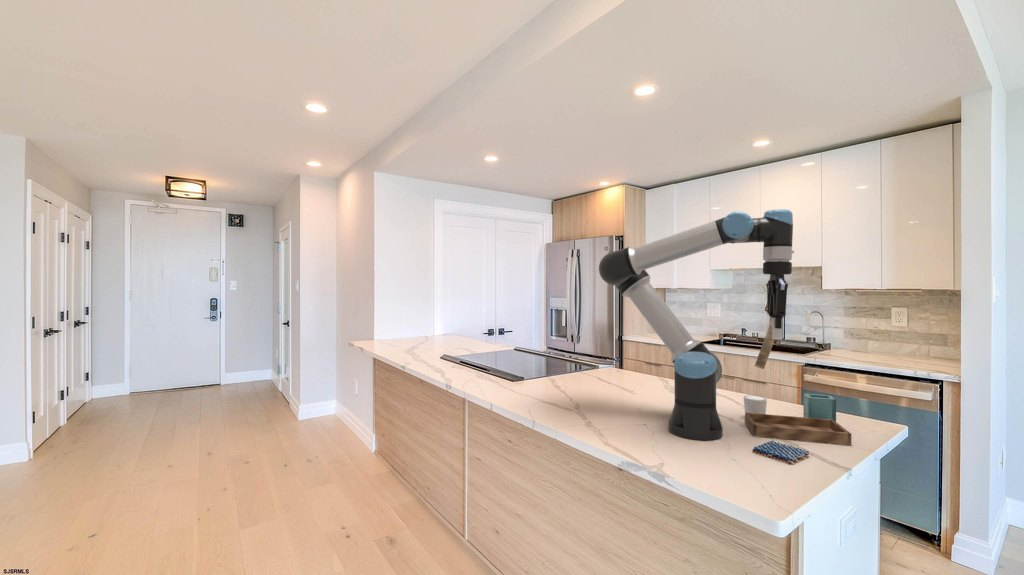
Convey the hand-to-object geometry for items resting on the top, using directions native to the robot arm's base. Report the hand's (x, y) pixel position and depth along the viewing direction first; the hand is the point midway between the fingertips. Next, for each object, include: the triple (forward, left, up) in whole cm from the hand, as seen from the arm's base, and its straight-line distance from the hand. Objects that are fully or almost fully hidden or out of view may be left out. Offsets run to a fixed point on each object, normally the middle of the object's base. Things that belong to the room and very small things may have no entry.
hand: (775, 338), depth 134 cm
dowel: (-2, 0, 0) cm, 2 cm away
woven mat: (-3, -21, -29) cm, 36 cm away
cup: (+15, +11, -28) cm, 34 cm away
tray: (+5, -1, -28) cm, 29 cm away
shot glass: (-3, +12, -28) cm, 31 cm away
